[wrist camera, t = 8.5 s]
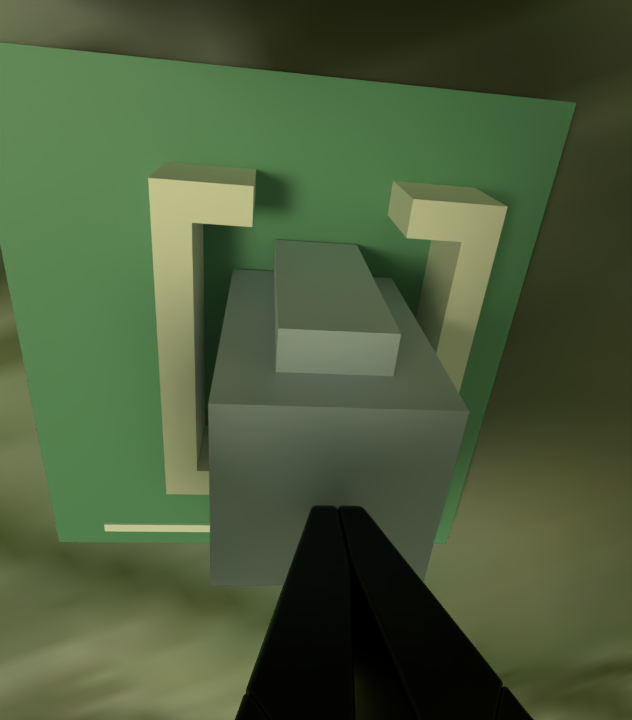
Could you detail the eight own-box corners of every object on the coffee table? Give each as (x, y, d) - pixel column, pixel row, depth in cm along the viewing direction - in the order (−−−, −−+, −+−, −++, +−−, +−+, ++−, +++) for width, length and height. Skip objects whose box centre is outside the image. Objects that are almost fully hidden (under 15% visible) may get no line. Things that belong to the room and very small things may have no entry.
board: (436, 518, 20) (464, 593, 17) (71, 514, 18) (34, 595, 15) (552, 99, 13) (629, 108, 10) (-12, 41, 11) (-104, 32, 9)
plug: (370, 408, 15) (422, 584, 10) (231, 404, 15) (210, 586, 10) (396, 247, 13) (482, 366, 8) (233, 236, 13) (208, 355, 7)
